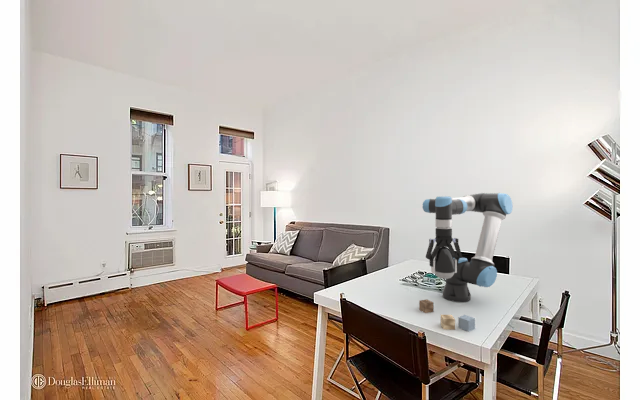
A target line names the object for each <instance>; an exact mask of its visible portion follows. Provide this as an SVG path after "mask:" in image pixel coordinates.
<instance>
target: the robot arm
mask: <svg viewBox="0 0 640 400" xmlns="http://www.w3.org/2000/svg"><path fill="white" fill-rule="evenodd" d="M422 210H423V211H424V212H425V213H429V214H435V238H429V239H428V240H429V241H428V242H429V244H428V248H427V250H426V254H425V259H428V260H429V267H431V268H430V269H431V271H430V272H431V273H432V274H433V275H434V274H435V260H434V259H435V256H436V254H437V252H438V251H439V249H440V248H441V247H447V248H448V249H449V250H450V252H451V254H452V256H453V260H454V264H455V272H454V275H453V276H452V277H451V278H449V279H445V285H444V288H443V290H442V297H443V299H445V300H447V301H452V302H456V303H457V302H459V303H462V302H463V303H464V302H465V303H466V302H469V301H471V299H472V296H471V292H470V289H469V285H468V284H470V285H474V286H477V287H481V288H482V287H483V288H490V287H491V286H493V285H494V283H495V282H496V281H497V277H498V270H497V268H496V267H495V263H494V262H493V257H494V254H495V250H496V245H497V242H498V238H499V237H498V236H499V233H500V230H501V225H502V221H503V220H505V219H506V216H507V215H510V214H511V213H512V212H513V201H512V198H511V196H510V195H508V193H501V192H496V193H495V192H494V193H493V192H492V193H491V192H490V193H489V192H486V193H485V192H484V193H483V192H481V193H474V194H468V195H467V194H465V195H464V196H462V197H461V196H460V197H451V196H446V195H445V196H443V195H442V196H436V198H426V199H424V200H423V202H422ZM467 212H474V213H482V215H483V217H484V219H483V223H482V227H481V230H480V231H481V232H480V235H479V239H478V243H477V246H476V250H475V255H474V256H473V257H471V258H470V261H469V260H468V258H467V257H463V254H462V250H461V248H460V245H459V238H456V237H454V238H453V229H452V227H453V219H452V218H453V216H455V215H461V214H463V215H464V214H465V213H467ZM452 242H453V244H452ZM435 243H436V244H435Z"/></svg>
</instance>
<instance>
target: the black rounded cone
mask: <svg viewBox="0 0 640 400" xmlns="http://www.w3.org/2000/svg"><path fill="white" fill-rule="evenodd" d="M453 258H454V257H453V255H452V253H451V252H450V250H449V248H448V247H441V248H440V249H439V251H438V252H437V254H436V256H435V258H434V260H435V276H436V277H437V278H439V279H444V280H446V279H449V278H451V277H452V276H453V275H454V272H455V264H454V260H453Z"/></svg>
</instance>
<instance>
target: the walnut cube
mask: <svg viewBox="0 0 640 400" xmlns="http://www.w3.org/2000/svg"><path fill="white" fill-rule="evenodd" d="M418 305H419V309H418V310H420V311H421V312H422V311H423V313H425V314H428V313H433V312H434V302H433V301H431V300H429V299H420V300H419V302H418Z"/></svg>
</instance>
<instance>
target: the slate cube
mask: <svg viewBox="0 0 640 400" xmlns="http://www.w3.org/2000/svg"><path fill="white" fill-rule="evenodd" d="M457 323H458V329H461V330H463V331H465V332H469V333H470V332H471V331H473V330H474V331H475V330H476V318H475V317H472V316H470V315H468V314H462V315H461V316H458V322H457Z"/></svg>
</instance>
